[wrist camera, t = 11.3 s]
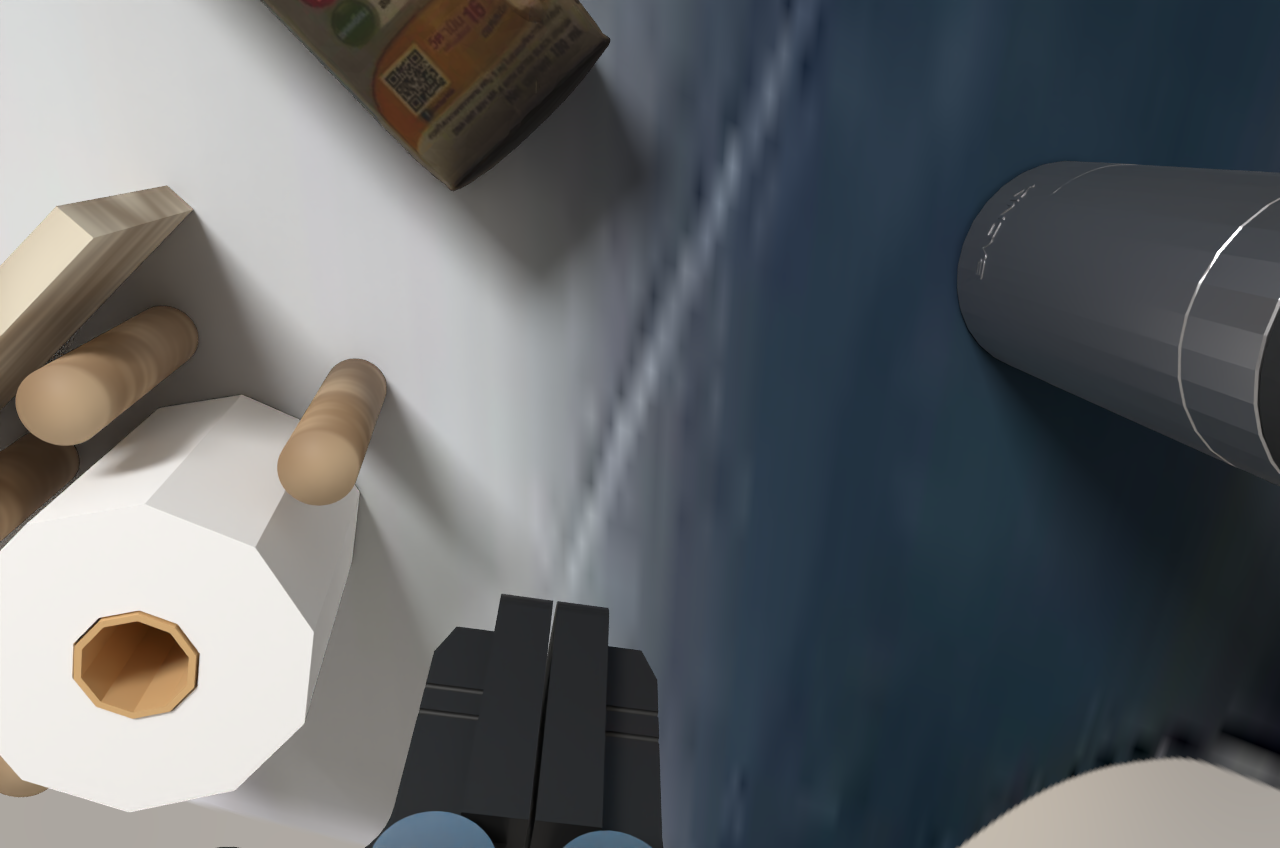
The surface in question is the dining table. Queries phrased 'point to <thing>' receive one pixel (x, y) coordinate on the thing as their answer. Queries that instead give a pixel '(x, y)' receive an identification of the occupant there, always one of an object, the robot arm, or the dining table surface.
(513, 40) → the beverage carton
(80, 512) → the toilet paper
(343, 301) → the dining table surface
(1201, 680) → the dining table surface
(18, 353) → the peg cradle
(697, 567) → the dining table surface
